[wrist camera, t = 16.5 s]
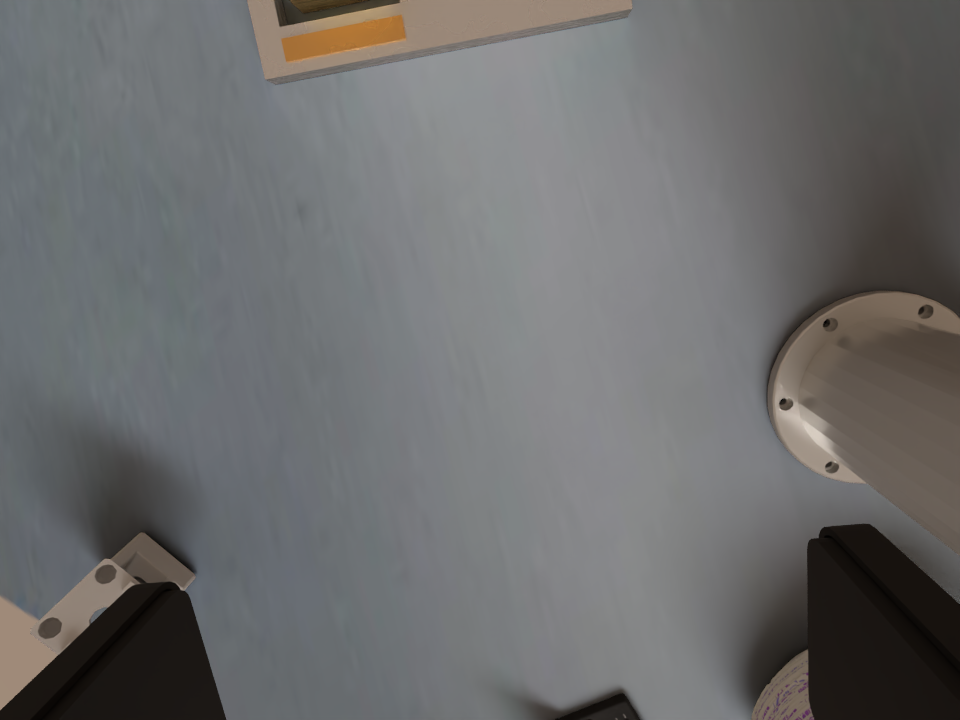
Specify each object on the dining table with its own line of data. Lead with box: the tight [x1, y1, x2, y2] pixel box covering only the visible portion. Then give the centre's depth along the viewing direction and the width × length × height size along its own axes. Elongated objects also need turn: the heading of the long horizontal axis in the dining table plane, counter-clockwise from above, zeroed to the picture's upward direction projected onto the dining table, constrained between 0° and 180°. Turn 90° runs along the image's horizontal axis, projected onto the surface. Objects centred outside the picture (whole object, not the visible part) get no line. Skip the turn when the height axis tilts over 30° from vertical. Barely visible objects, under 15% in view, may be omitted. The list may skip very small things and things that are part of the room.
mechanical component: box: [31, 533, 195, 655], centre depth 39 cm, size 5×8×10 cm
